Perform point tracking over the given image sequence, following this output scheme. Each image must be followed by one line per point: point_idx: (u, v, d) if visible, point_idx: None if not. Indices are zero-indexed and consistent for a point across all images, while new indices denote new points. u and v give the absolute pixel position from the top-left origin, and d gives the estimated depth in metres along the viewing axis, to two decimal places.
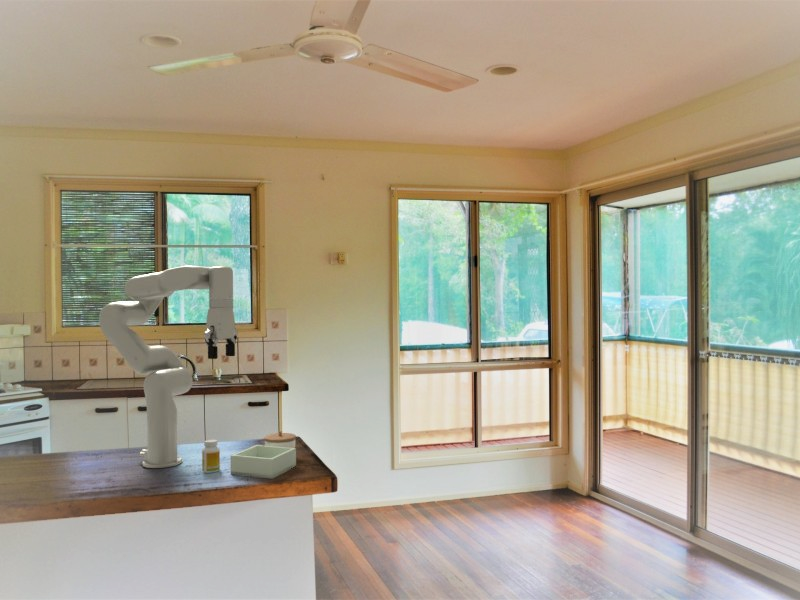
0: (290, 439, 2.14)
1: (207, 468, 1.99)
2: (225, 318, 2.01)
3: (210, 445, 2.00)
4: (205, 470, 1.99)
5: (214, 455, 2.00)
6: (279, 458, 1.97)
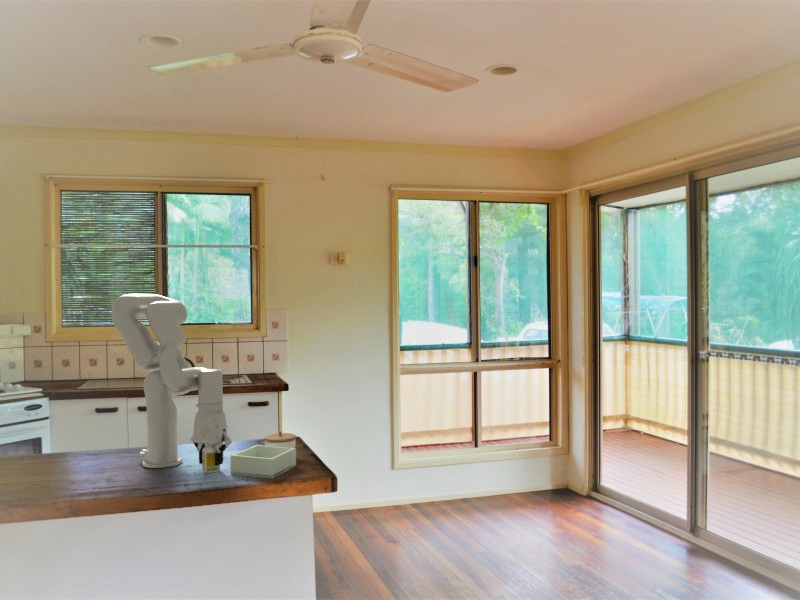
0: (290, 439, 2.14)
1: (207, 468, 1.99)
2: None
3: (210, 445, 2.00)
4: (205, 470, 1.99)
5: None
6: (279, 458, 1.97)
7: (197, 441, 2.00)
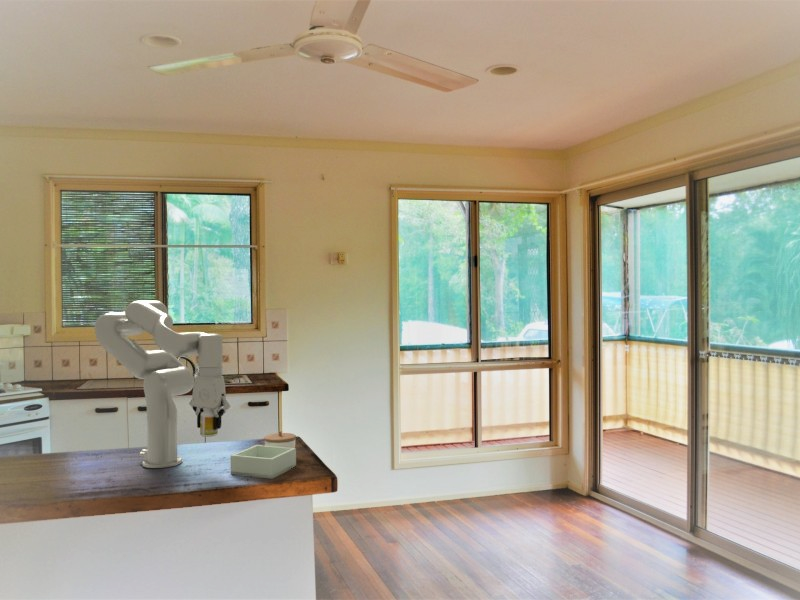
0: (290, 439, 2.14)
1: (205, 432, 1.99)
2: None
3: (209, 409, 2.00)
4: (203, 434, 2.00)
5: None
6: (279, 458, 1.97)
7: (196, 405, 2.00)
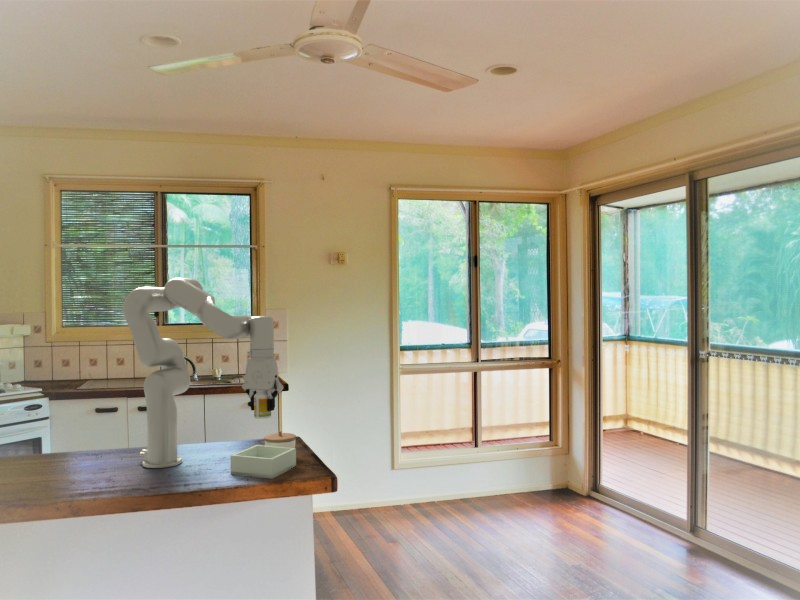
0: (290, 439, 2.14)
1: (259, 413, 1.99)
2: None
3: (262, 391, 2.00)
4: (257, 416, 2.00)
5: None
6: (279, 458, 1.97)
7: (249, 387, 2.00)
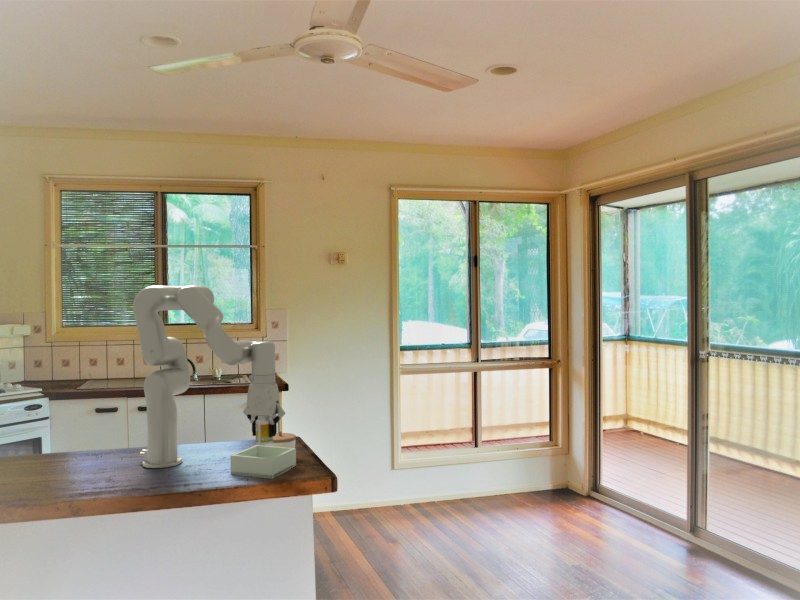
0: (290, 439, 2.14)
1: (261, 439, 1.99)
2: None
3: (264, 417, 2.00)
4: (259, 441, 2.00)
5: (268, 426, 2.00)
6: (279, 458, 1.97)
7: (251, 413, 2.01)
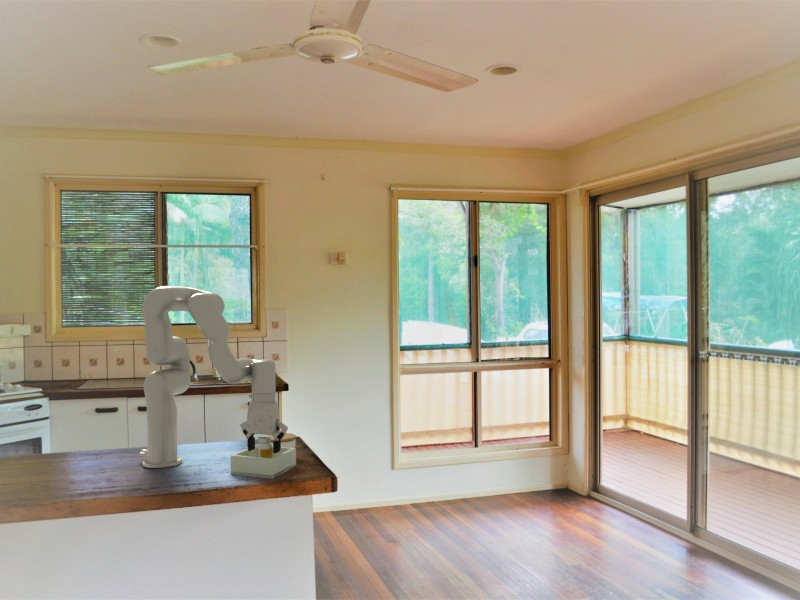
0: (290, 439, 2.14)
1: None
2: None
3: (264, 441, 2.00)
4: None
5: (268, 451, 2.00)
6: (279, 458, 1.97)
7: (250, 431, 2.01)
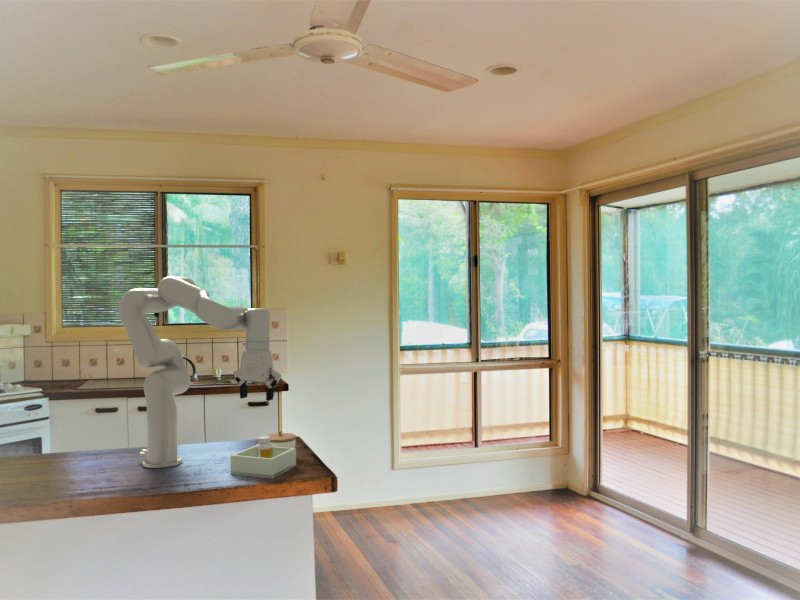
0: (290, 439, 2.14)
1: None
2: None
3: (264, 441, 2.00)
4: None
5: (268, 451, 2.00)
6: (279, 458, 1.97)
7: (243, 379, 2.01)
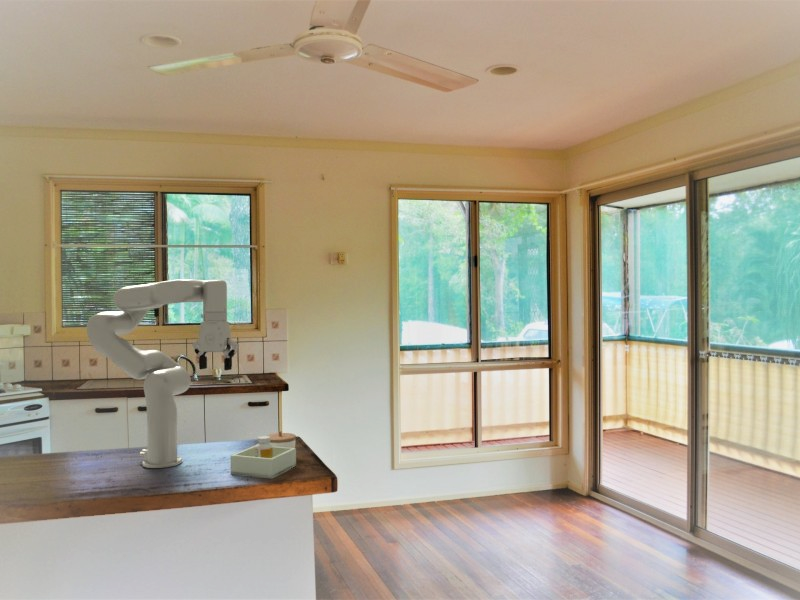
0: (290, 439, 2.14)
1: None
2: None
3: (264, 441, 2.00)
4: None
5: (268, 451, 2.00)
6: (279, 458, 1.97)
7: (202, 350, 2.04)
